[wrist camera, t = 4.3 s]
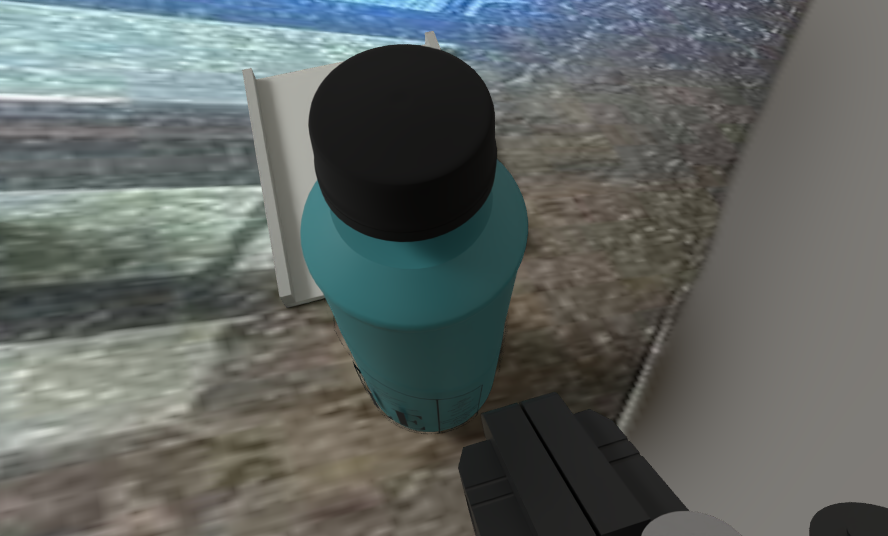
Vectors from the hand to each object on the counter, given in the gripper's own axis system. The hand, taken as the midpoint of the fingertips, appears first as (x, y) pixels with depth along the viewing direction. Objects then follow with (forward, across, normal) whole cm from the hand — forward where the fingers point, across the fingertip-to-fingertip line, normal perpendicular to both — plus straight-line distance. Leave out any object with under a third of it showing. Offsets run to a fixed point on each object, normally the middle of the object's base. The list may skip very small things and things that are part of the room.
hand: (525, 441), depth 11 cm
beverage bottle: (+17, -1, -8) cm, 19 cm away
